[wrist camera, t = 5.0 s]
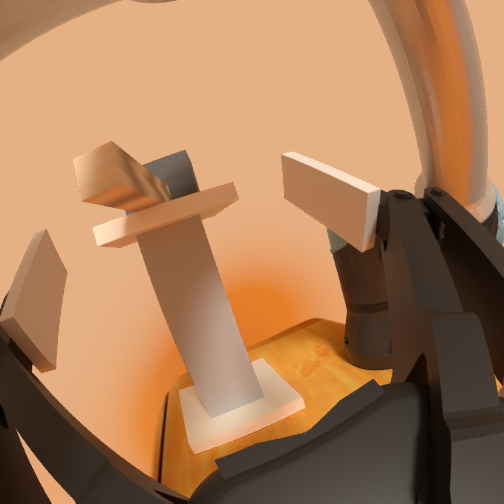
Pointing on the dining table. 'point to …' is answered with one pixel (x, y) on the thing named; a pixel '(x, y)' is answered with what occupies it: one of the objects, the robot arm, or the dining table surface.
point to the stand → (203, 320)
